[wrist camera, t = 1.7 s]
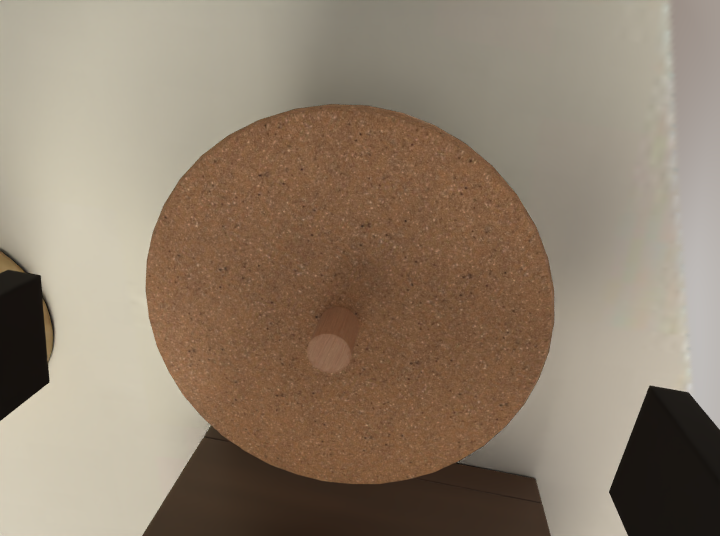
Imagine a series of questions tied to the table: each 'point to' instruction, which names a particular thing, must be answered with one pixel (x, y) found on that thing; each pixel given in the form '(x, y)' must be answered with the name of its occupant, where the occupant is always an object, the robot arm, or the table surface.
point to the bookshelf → (341, 501)
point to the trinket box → (350, 294)
